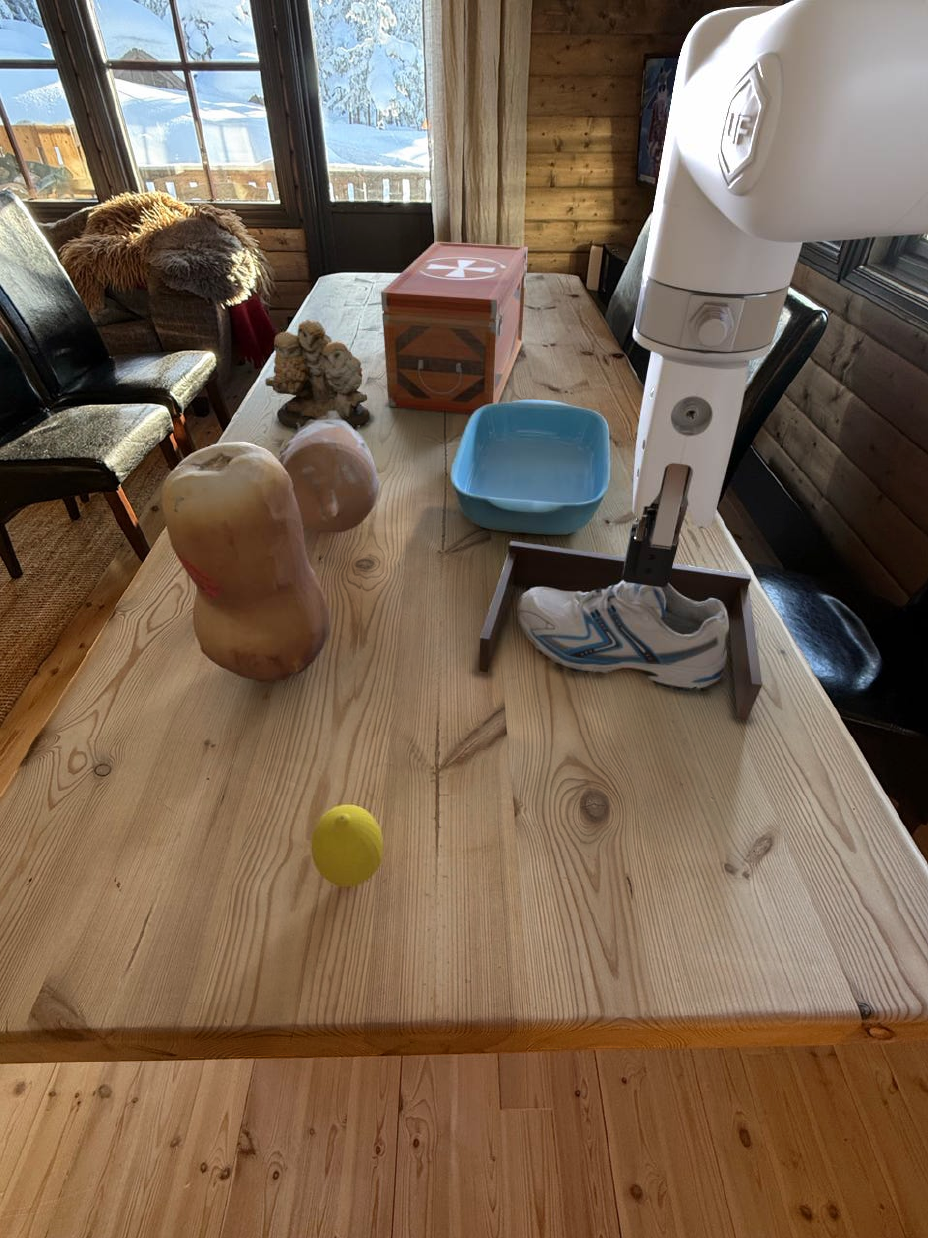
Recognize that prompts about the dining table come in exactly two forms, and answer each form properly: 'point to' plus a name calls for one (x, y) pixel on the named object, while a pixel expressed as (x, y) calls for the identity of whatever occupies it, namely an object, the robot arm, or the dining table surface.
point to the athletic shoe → (629, 632)
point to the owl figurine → (316, 378)
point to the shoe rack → (603, 570)
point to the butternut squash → (246, 561)
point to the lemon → (347, 845)
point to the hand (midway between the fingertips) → (644, 577)
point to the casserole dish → (532, 467)
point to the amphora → (331, 474)
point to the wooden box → (454, 326)
